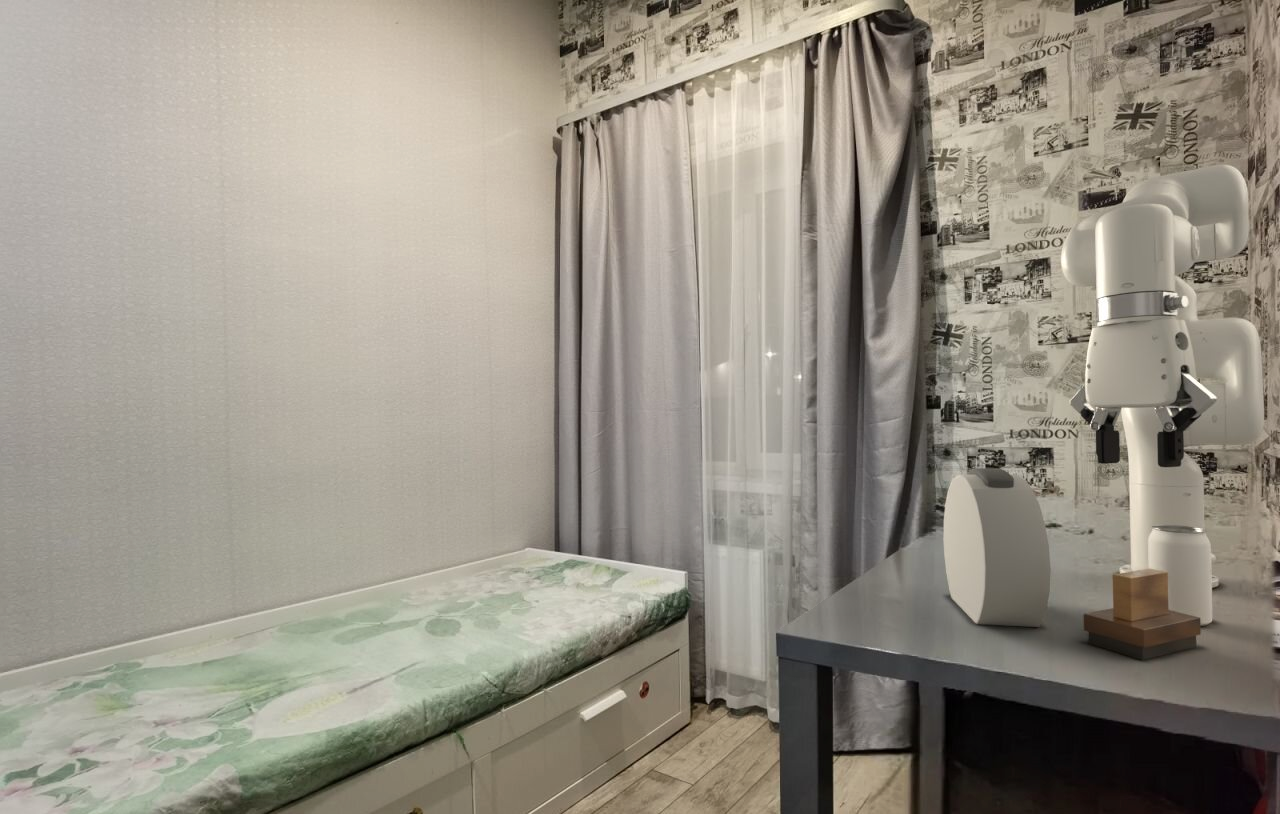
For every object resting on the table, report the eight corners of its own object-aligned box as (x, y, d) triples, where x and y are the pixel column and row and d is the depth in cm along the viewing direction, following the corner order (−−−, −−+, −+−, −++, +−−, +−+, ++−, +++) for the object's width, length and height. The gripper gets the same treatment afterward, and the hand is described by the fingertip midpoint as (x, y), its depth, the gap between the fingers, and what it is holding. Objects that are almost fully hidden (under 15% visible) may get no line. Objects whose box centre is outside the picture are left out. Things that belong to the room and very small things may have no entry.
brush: (1139, 630, 83) (1138, 563, 83) (1201, 647, 77) (1199, 574, 77) (1084, 642, 79) (1082, 571, 79) (1144, 661, 73) (1142, 584, 73)
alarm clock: (1052, 637, 81) (1049, 475, 81) (986, 634, 83) (983, 475, 83) (995, 591, 102) (993, 462, 102) (943, 589, 103) (941, 462, 104)
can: (1153, 608, 92) (1152, 522, 92) (1215, 618, 88) (1213, 527, 88) (1145, 619, 88) (1143, 528, 88) (1209, 630, 83) (1207, 534, 83)
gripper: (1242, 303, 72) (1245, 468, 72) (1083, 324, 88) (1085, 459, 88) (1201, 298, 69) (1205, 471, 69) (1044, 321, 85) (1046, 461, 85)
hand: (1138, 463), depth 78 cm, fingers open, 6 cm apart
